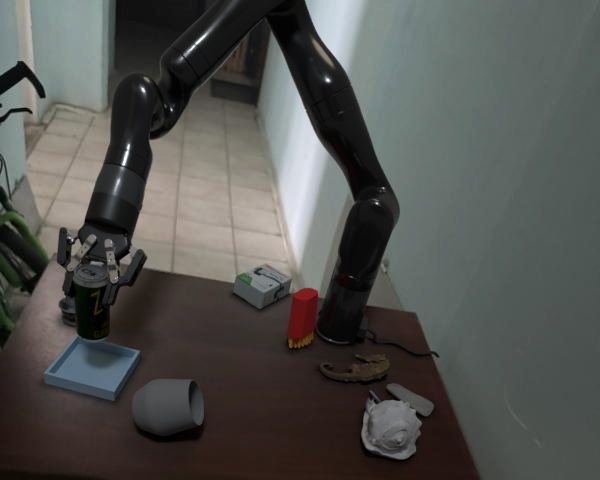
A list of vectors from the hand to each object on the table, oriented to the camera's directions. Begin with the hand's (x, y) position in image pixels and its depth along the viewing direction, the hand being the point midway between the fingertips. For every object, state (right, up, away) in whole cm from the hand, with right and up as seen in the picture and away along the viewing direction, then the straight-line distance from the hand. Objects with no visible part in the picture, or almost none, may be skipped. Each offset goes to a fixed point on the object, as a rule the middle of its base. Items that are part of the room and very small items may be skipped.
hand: (87, 301), depth 82 cm
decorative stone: (+58, -14, +28) cm, 66 cm away
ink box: (+22, +9, +38) cm, 45 cm away
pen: (+56, -23, +18) cm, 63 cm away
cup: (+7, -17, +3) cm, 19 cm away
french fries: (+35, +7, +25) cm, 44 cm away
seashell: (+48, -23, +16) cm, 56 cm away
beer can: (-2, -4, +7) cm, 8 cm away
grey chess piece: (-11, 0, +21) cm, 24 cm away
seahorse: (+40, -7, +24) cm, 47 cm away
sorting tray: (-3, -10, +12) cm, 16 cm away
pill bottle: (-11, +10, +32) cm, 35 cm away
